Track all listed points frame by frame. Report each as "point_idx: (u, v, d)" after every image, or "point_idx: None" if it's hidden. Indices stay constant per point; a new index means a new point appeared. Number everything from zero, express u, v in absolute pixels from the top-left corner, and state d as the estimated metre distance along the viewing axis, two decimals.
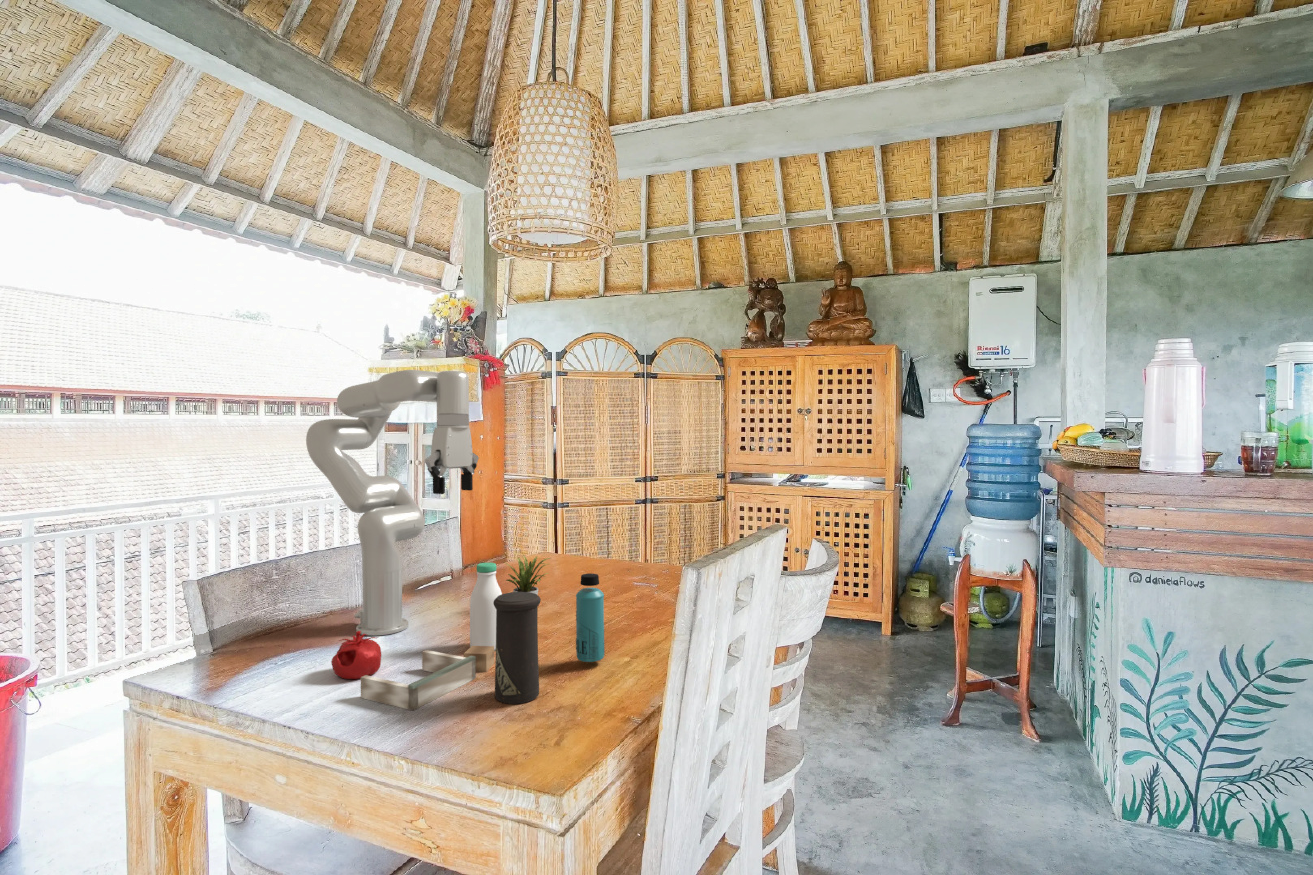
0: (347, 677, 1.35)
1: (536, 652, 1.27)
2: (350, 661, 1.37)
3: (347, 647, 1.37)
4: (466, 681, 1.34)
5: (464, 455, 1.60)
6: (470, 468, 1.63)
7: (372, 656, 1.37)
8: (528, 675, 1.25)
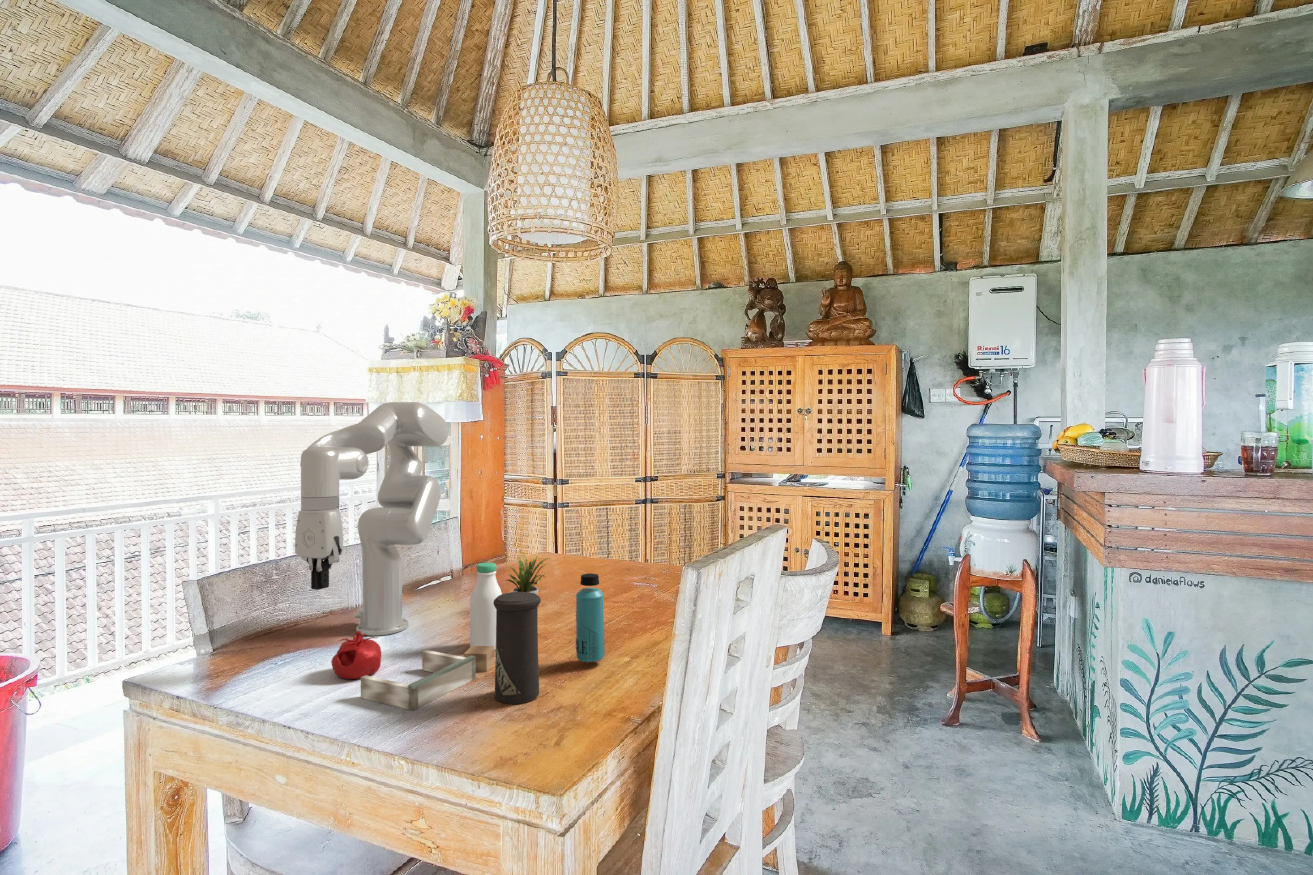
0: (347, 677, 1.35)
1: (536, 652, 1.27)
2: (350, 661, 1.37)
3: (347, 647, 1.37)
4: (466, 681, 1.34)
5: None
6: None
7: (372, 656, 1.37)
8: (528, 675, 1.25)
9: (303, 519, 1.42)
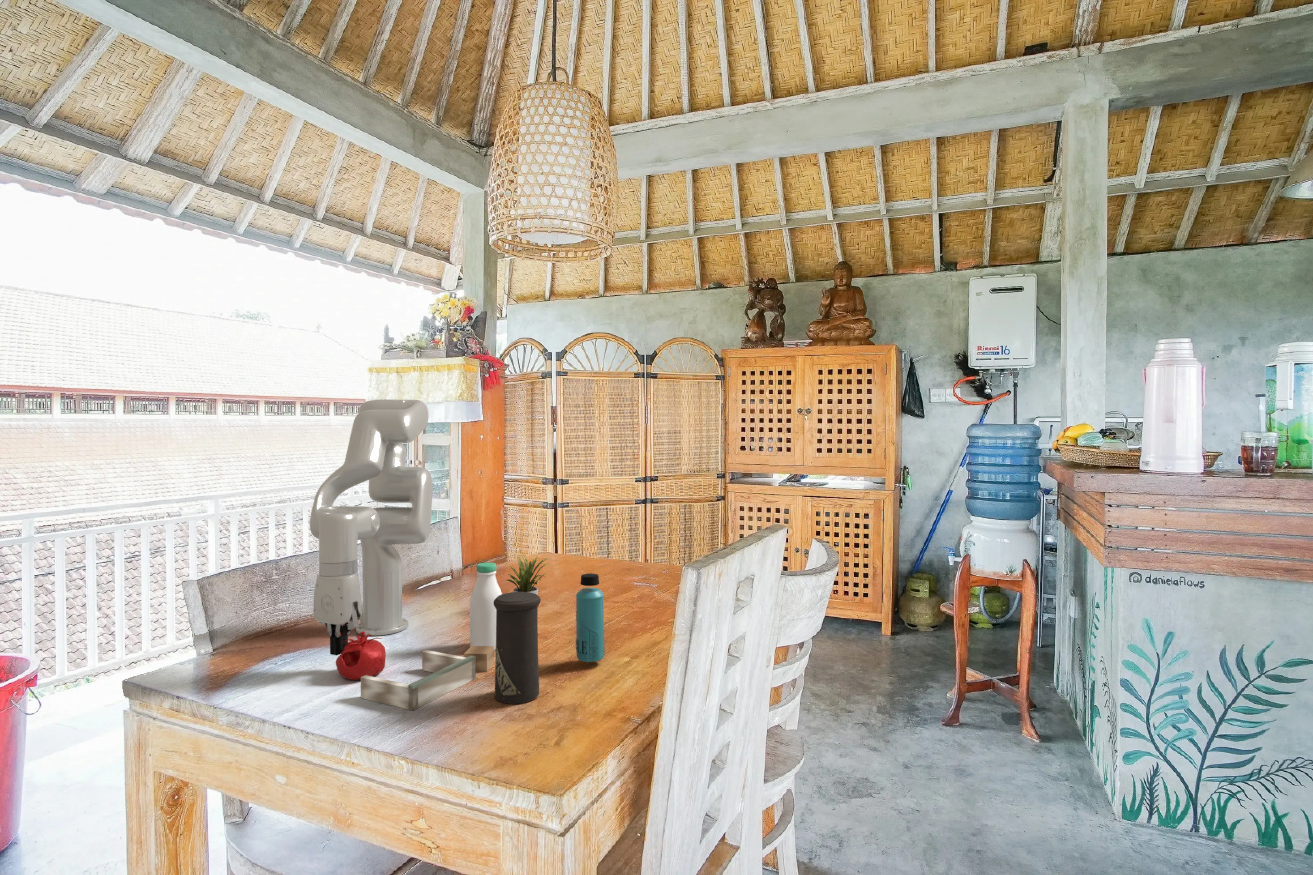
0: (351, 678, 1.35)
1: (536, 652, 1.27)
2: (354, 662, 1.36)
3: (351, 647, 1.36)
4: (466, 681, 1.34)
5: None
6: None
7: (376, 656, 1.36)
8: (528, 675, 1.25)
9: (321, 584, 1.40)
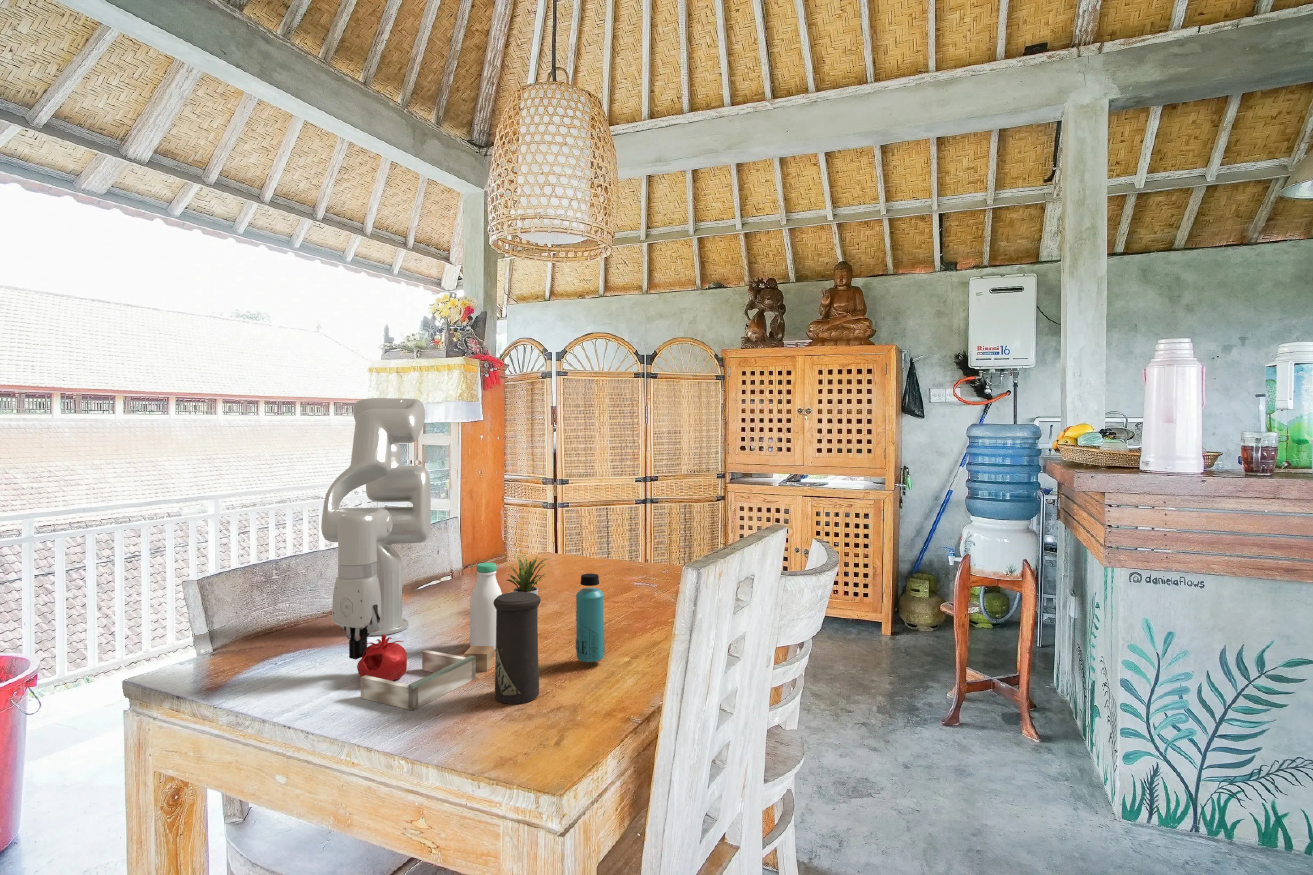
0: None
1: (536, 652, 1.27)
2: (376, 666, 1.34)
3: (373, 651, 1.34)
4: (466, 681, 1.34)
5: None
6: None
7: (399, 660, 1.34)
8: (528, 675, 1.25)
9: (341, 587, 1.37)
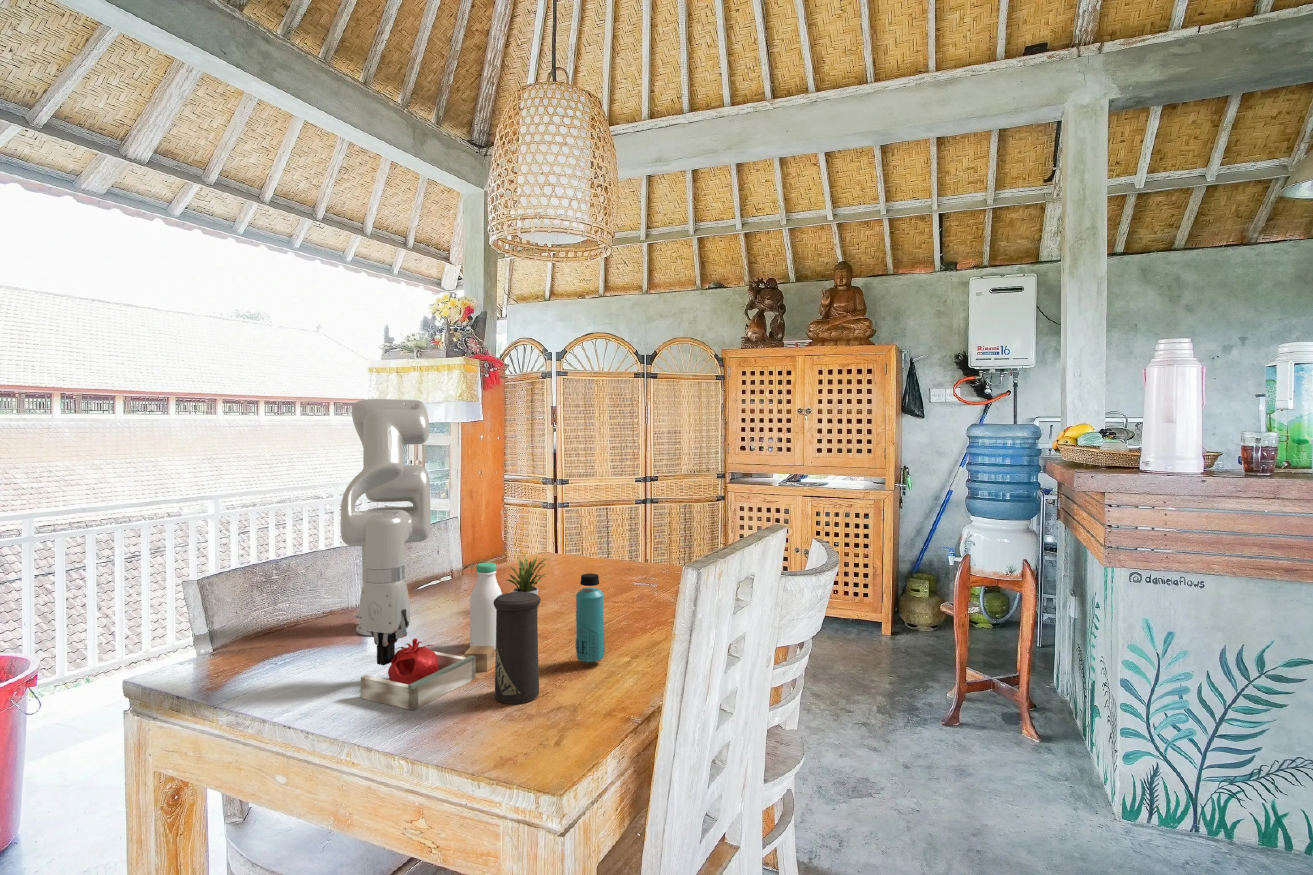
0: None
1: (536, 652, 1.27)
2: (407, 670, 1.32)
3: (405, 655, 1.31)
4: (466, 681, 1.34)
5: None
6: None
7: (431, 664, 1.32)
8: (528, 675, 1.25)
9: (368, 591, 1.34)
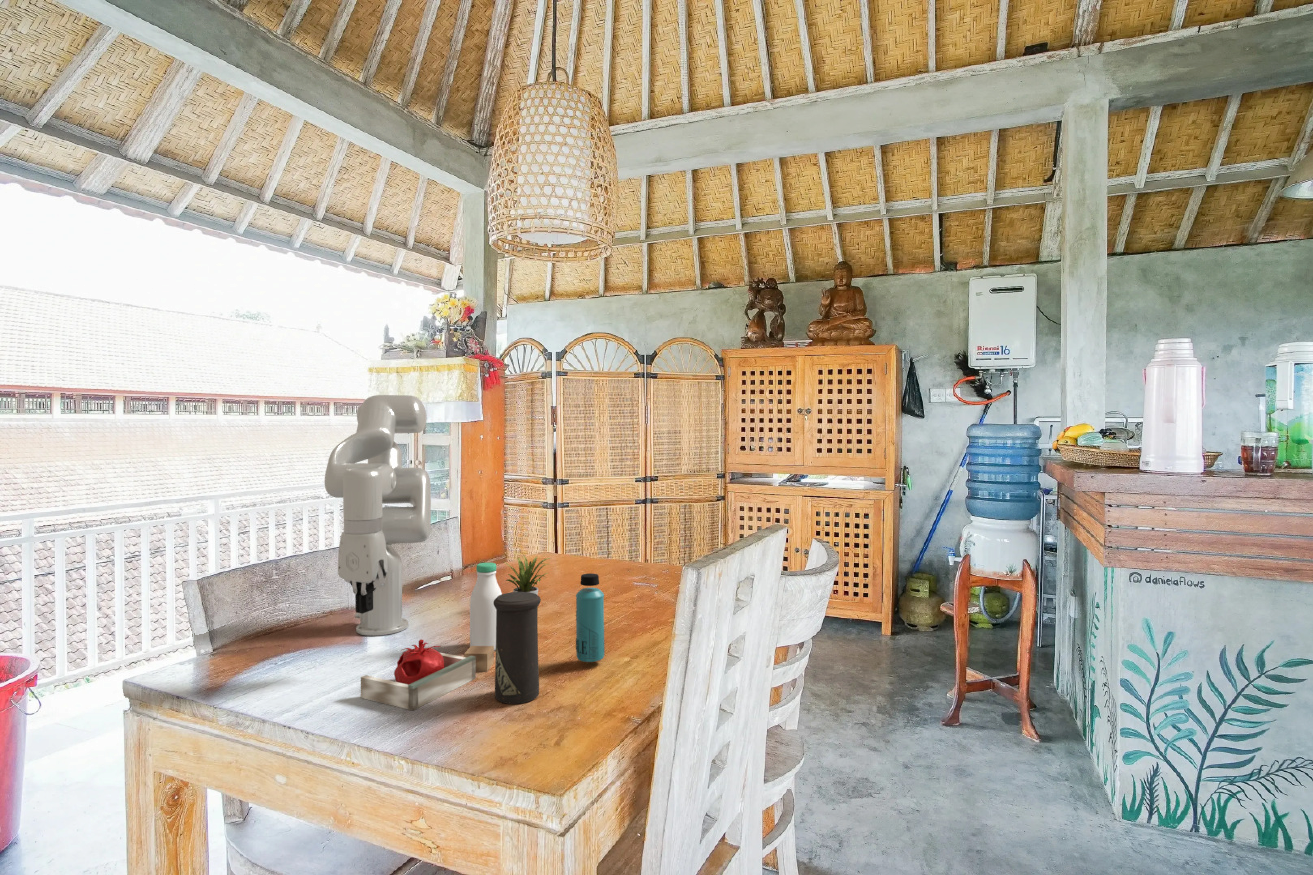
0: None
1: (536, 652, 1.27)
2: (414, 672, 1.31)
3: (411, 657, 1.31)
4: (466, 681, 1.34)
5: None
6: None
7: (437, 666, 1.31)
8: (528, 675, 1.25)
9: (346, 542, 1.37)
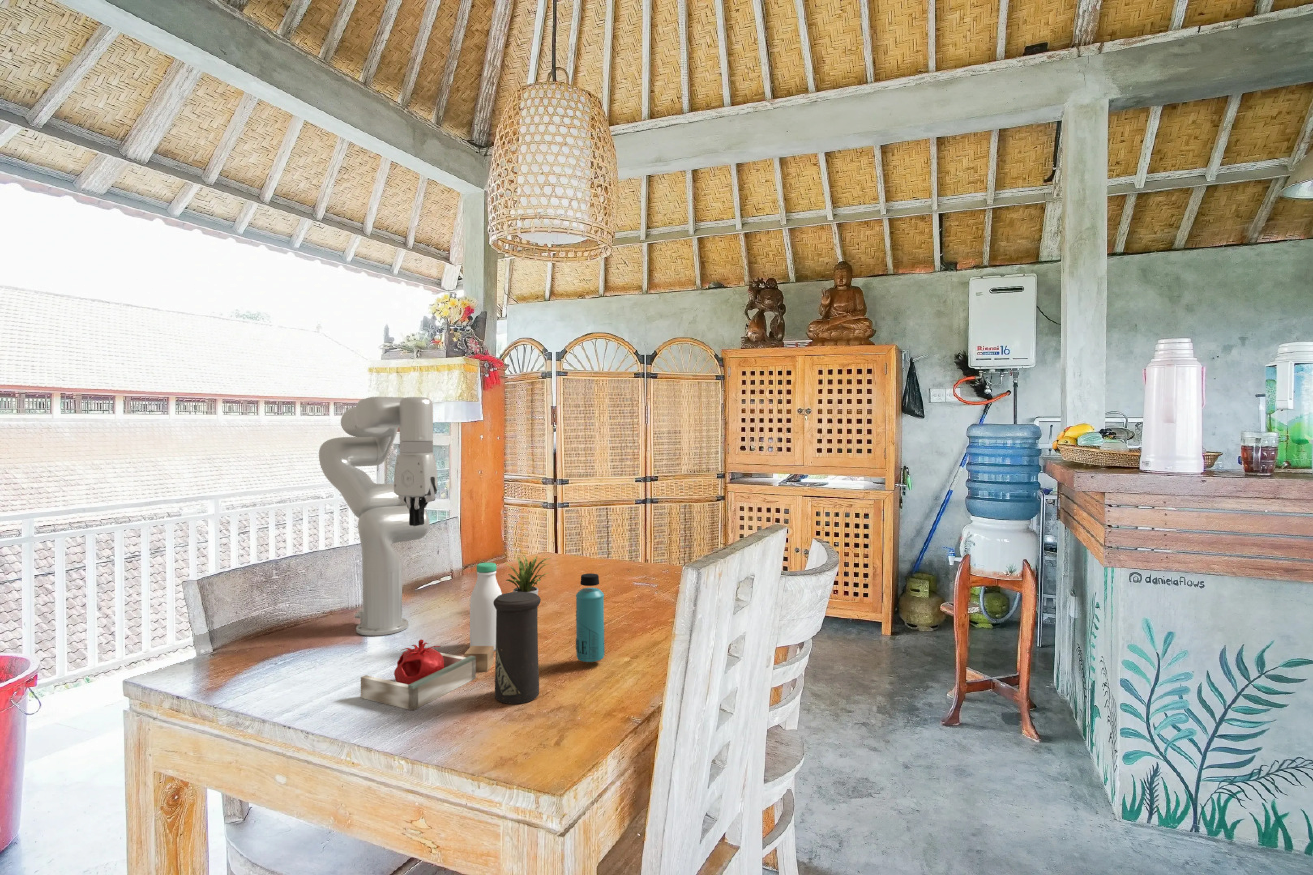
0: None
1: (536, 652, 1.27)
2: (414, 672, 1.31)
3: (411, 657, 1.31)
4: (466, 681, 1.34)
5: None
6: None
7: (437, 665, 1.31)
8: (528, 675, 1.25)
9: (402, 461, 1.55)
